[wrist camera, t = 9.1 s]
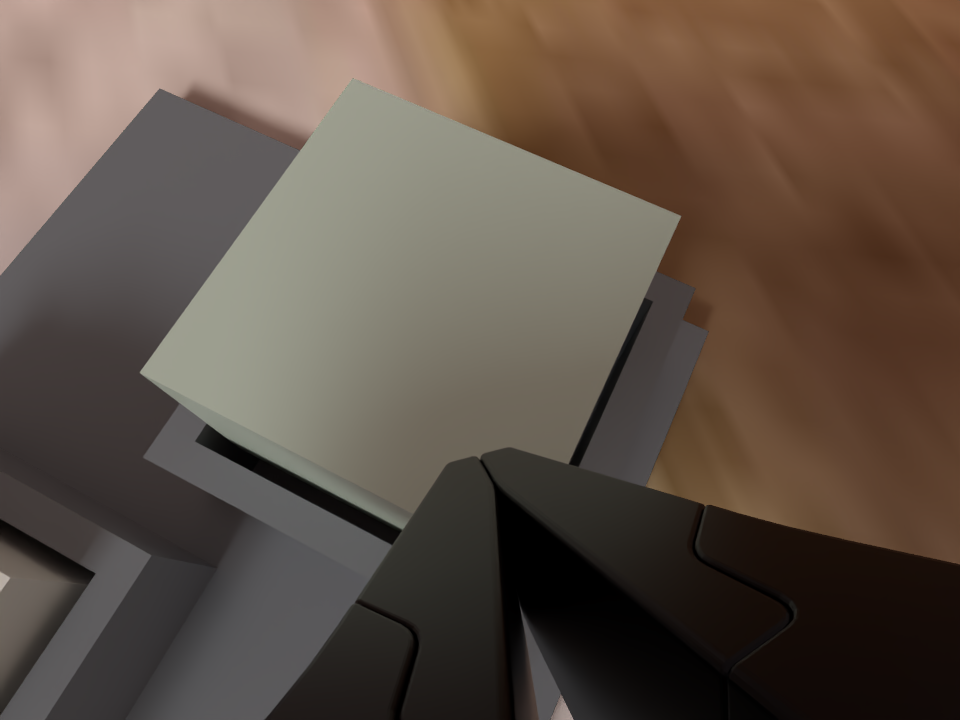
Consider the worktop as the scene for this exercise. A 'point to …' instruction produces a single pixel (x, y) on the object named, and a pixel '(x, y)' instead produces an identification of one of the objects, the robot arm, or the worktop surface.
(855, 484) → the worktop surface
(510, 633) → the robot arm
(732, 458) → the worktop surface
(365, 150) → the grey-green block
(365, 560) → the board
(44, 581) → the cream block with holes
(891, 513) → the worktop surface
